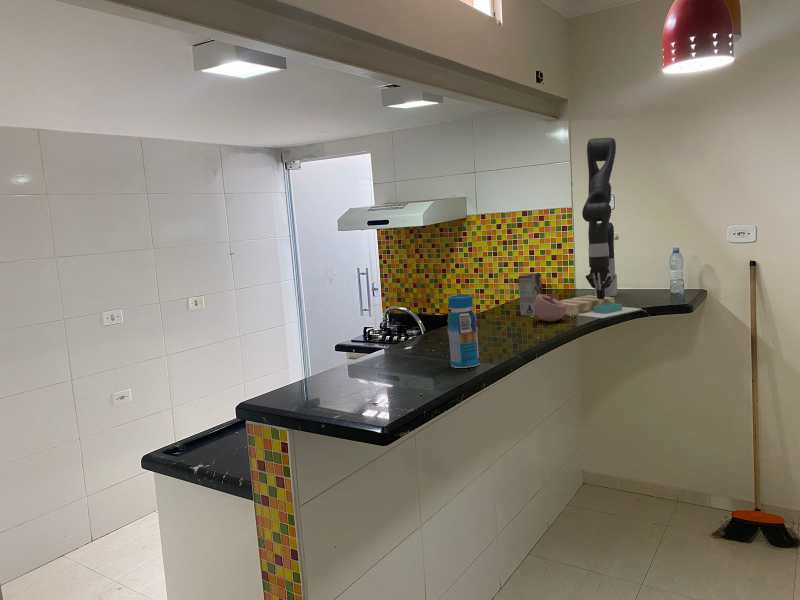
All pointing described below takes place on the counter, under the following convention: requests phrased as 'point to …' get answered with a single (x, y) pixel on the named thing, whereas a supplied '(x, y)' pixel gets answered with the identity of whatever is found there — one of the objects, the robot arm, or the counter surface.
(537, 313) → the mortar and pestle
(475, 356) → the beverage bottle
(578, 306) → the oak deck
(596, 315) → the white flat panel
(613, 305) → the teal tile
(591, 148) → the robot arm
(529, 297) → the coffee box
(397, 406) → the counter surface
